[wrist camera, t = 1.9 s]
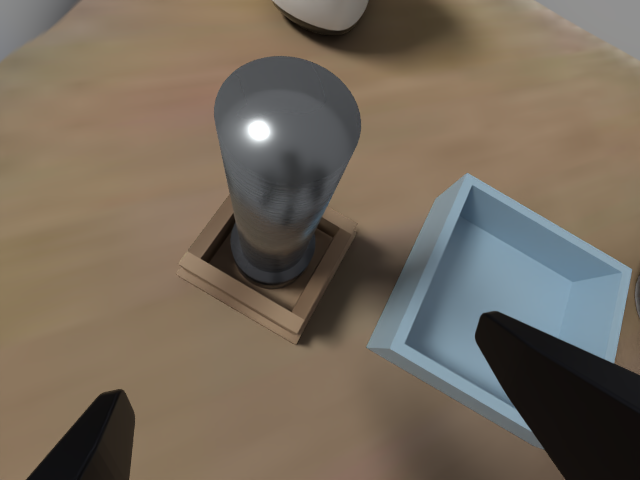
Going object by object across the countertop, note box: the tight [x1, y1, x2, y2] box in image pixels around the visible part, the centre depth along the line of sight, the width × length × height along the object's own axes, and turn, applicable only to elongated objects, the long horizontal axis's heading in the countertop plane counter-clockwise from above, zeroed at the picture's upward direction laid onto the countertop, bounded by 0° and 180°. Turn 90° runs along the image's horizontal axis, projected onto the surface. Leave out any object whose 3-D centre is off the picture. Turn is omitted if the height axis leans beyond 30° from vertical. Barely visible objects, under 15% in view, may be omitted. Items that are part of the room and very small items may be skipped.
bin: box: [366, 173, 632, 450], centre depth 21 cm, size 12×12×4 cm
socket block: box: [176, 194, 357, 345], centre depth 20 cm, size 8×8×3 cm
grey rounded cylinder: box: [214, 56, 361, 289], centre depth 14 cm, size 5×5×13 cm
